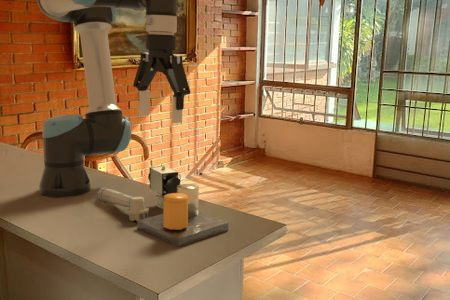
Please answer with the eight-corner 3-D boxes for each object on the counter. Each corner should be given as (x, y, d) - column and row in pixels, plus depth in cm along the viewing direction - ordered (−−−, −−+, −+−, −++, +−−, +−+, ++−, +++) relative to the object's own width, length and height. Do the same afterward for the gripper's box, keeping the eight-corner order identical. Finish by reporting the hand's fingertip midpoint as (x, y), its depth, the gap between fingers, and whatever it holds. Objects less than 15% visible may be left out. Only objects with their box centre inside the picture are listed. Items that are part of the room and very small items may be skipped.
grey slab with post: (137, 228, 123) (137, 192, 121) (186, 214, 134) (186, 181, 132) (179, 246, 112) (179, 207, 110) (228, 229, 123) (229, 194, 121)
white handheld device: (109, 185, 147) (151, 193, 127) (111, 207, 148) (153, 219, 128) (93, 188, 144) (133, 197, 124) (95, 210, 144) (135, 222, 125)
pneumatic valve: (165, 214, 134) (165, 171, 131) (147, 202, 143) (147, 162, 141) (183, 211, 137) (183, 169, 134) (164, 200, 146) (164, 160, 144)
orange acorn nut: (159, 224, 118) (159, 196, 117) (177, 219, 122) (177, 191, 120) (174, 231, 114) (174, 201, 113) (192, 225, 118) (192, 196, 117)
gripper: (119, 32, 127) (120, 113, 132) (182, 34, 110) (180, 127, 115) (143, 33, 133) (143, 111, 137) (206, 35, 116) (203, 124, 120)
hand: (160, 119), depth 126 cm, fingers open, 13 cm apart
